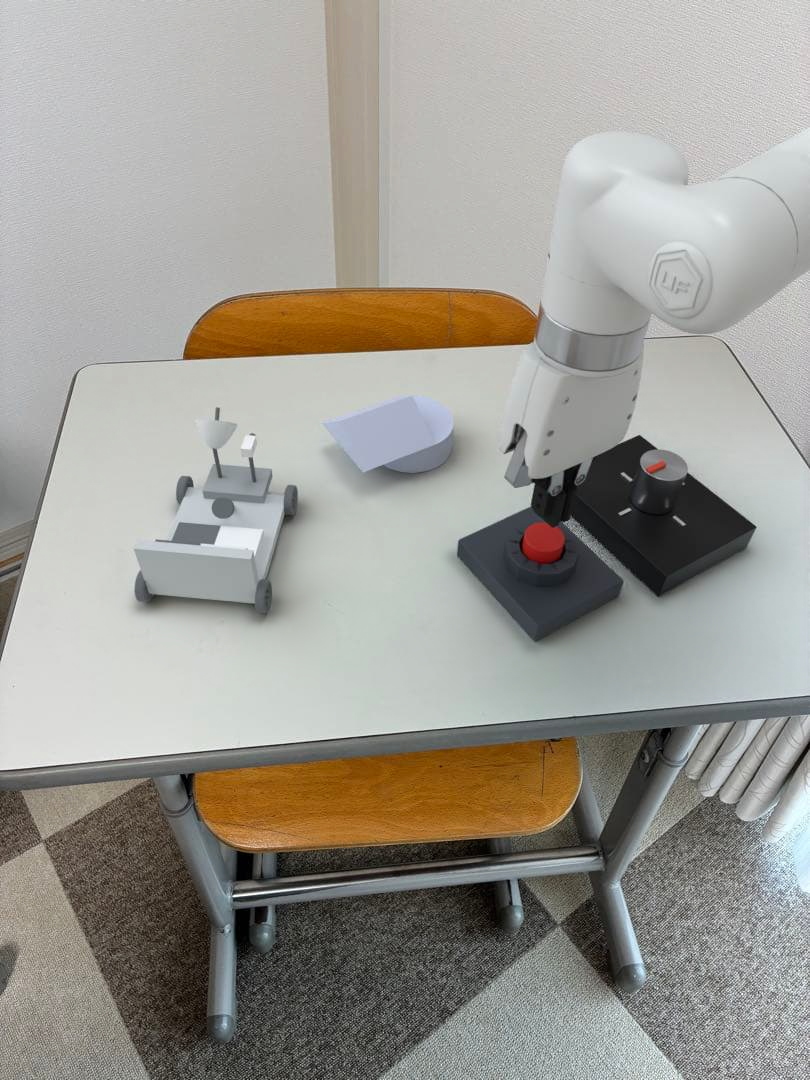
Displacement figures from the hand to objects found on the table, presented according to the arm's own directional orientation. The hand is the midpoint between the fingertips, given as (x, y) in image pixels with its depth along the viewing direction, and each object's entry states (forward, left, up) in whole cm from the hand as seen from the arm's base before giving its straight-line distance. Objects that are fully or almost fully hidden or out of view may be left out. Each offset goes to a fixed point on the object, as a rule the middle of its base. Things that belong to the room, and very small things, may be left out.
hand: (549, 513), depth 69 cm
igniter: (0, 0, -8) cm, 8 cm away
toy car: (+19, +23, -8) cm, 31 cm away
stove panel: (0, -14, -8) cm, 16 cm away
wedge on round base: (+22, +2, -8) cm, 24 cm away
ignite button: (0, 0, -5) cm, 5 cm away
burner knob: (0, -14, -5) cm, 15 cm away
